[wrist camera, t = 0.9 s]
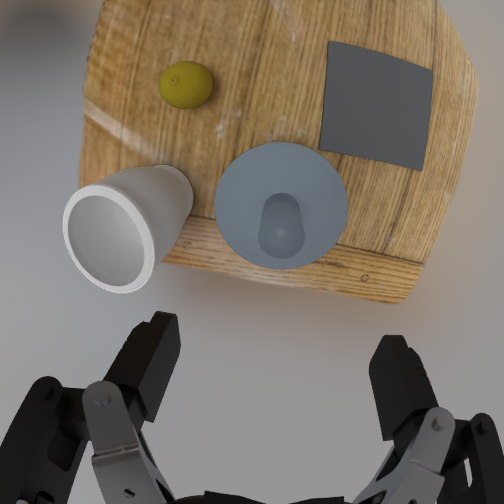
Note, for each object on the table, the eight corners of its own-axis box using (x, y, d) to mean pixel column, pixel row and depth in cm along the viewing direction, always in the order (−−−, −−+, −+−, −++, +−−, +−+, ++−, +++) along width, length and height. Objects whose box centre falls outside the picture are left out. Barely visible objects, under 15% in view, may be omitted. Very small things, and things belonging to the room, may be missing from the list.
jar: (210, 224, 36) (171, 289, 23) (145, 237, 38) (88, 297, 25) (189, 146, 31) (129, 168, 18) (122, 168, 33) (48, 202, 20)
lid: (218, 136, 22) (196, 142, 16) (355, 152, 22) (382, 164, 16) (215, 258, 28) (197, 298, 22) (332, 271, 27) (344, 313, 21)
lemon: (226, 75, 27) (210, 61, 20) (209, 115, 30) (187, 114, 22) (185, 63, 26) (159, 49, 19) (169, 103, 29) (139, 100, 22)
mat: (328, 41, 24) (328, 40, 23) (430, 71, 23) (432, 71, 22) (318, 149, 30) (319, 149, 30) (420, 170, 29) (422, 171, 29)
